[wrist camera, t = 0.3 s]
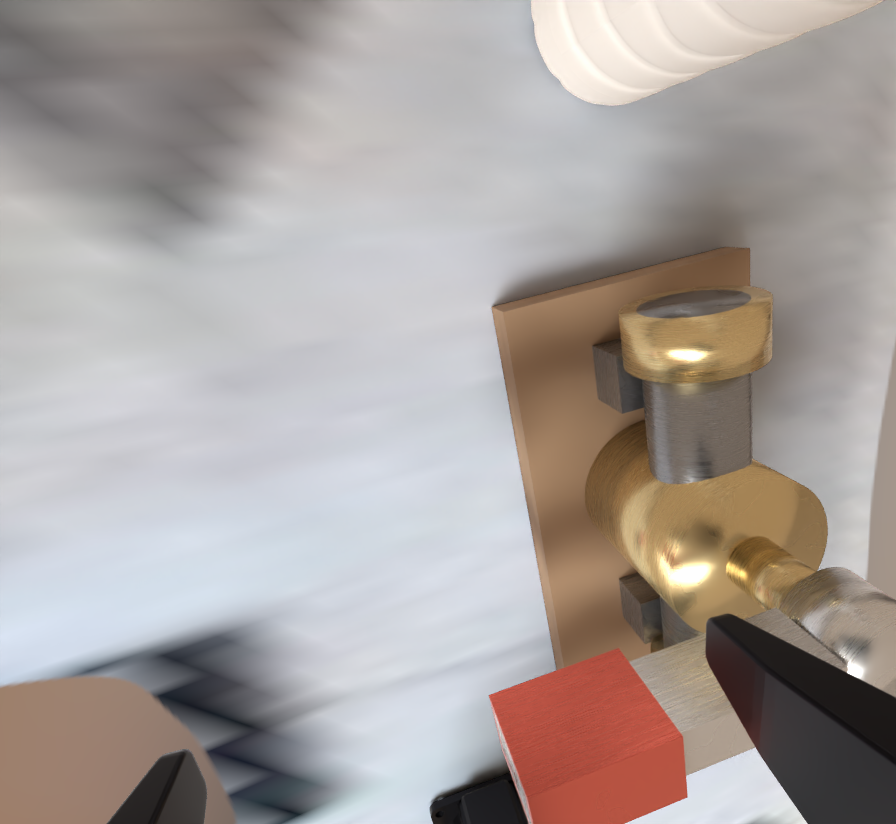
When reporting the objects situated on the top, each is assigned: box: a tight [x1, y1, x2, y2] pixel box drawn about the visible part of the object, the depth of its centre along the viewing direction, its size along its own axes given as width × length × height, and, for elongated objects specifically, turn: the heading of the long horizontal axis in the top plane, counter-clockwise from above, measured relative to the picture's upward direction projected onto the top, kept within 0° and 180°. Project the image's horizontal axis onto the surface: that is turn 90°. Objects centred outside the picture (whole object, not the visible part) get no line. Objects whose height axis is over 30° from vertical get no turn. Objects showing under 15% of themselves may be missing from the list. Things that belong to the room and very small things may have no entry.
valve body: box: [585, 285, 828, 653], centre depth 21 cm, size 18×6×9 cm, turn 12°
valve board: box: [492, 247, 750, 670], centre depth 27 cm, size 22×11×2 cm, turn 12°
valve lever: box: [489, 567, 896, 824], centre depth 15 cm, size 12×3×3 cm, turn 102°
